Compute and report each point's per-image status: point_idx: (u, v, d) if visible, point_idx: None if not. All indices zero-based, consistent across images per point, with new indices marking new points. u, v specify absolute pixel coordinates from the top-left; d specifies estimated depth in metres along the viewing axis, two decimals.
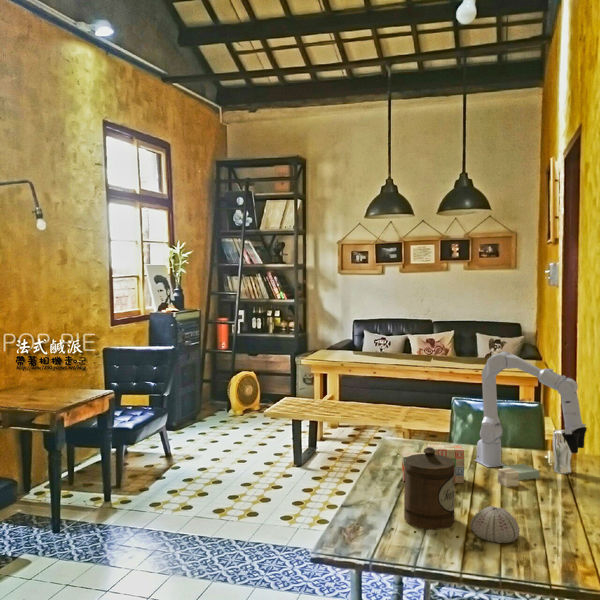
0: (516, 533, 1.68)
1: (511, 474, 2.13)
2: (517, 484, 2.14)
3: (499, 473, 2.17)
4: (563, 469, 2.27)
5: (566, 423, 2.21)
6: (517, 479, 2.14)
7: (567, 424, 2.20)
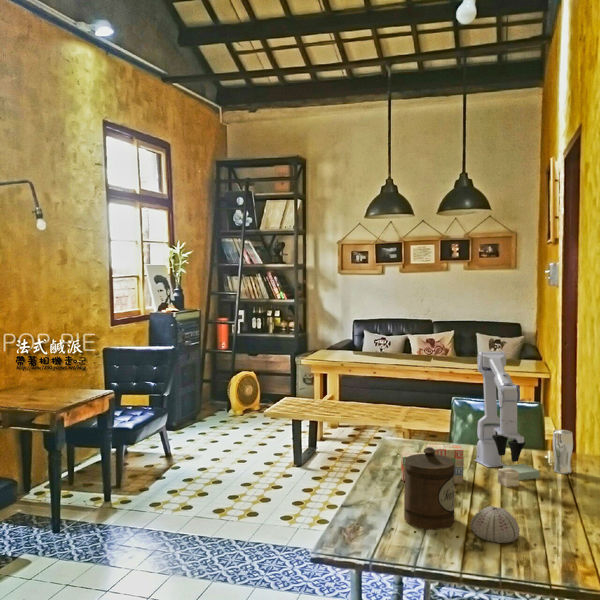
0: (516, 533, 1.68)
1: (511, 474, 2.13)
2: (517, 484, 2.14)
3: (499, 473, 2.17)
4: (563, 469, 2.27)
5: None
6: (517, 479, 2.14)
7: None
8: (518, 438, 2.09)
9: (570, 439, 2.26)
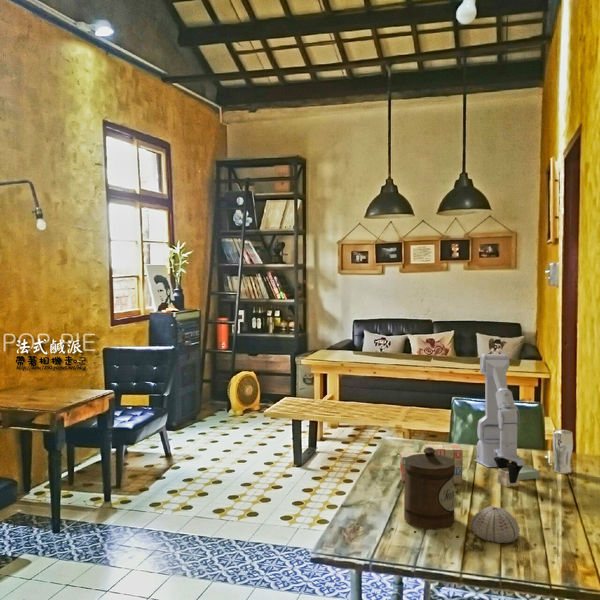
0: (516, 533, 1.68)
1: None
2: (517, 484, 2.14)
3: (499, 473, 2.17)
4: (563, 469, 2.27)
5: None
6: (517, 479, 2.14)
7: None
8: (518, 461, 2.09)
9: (570, 439, 2.26)
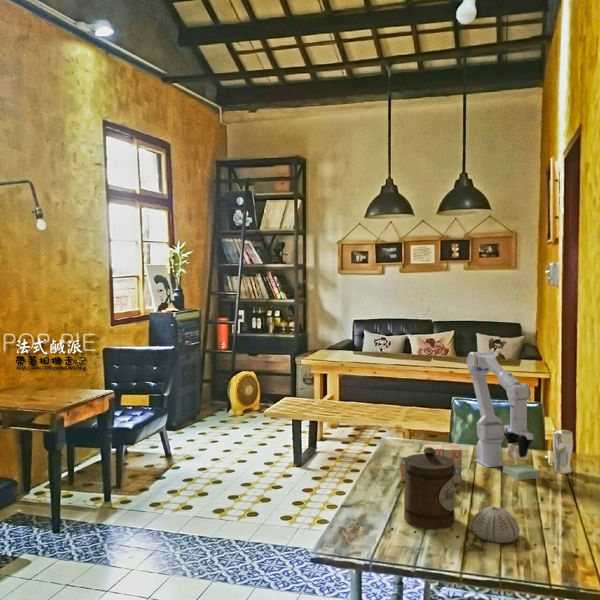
0: (516, 533, 1.68)
1: None
2: (526, 458, 2.22)
3: (509, 447, 2.24)
4: (563, 469, 2.27)
5: None
6: None
7: None
8: (528, 435, 2.16)
9: (570, 439, 2.26)
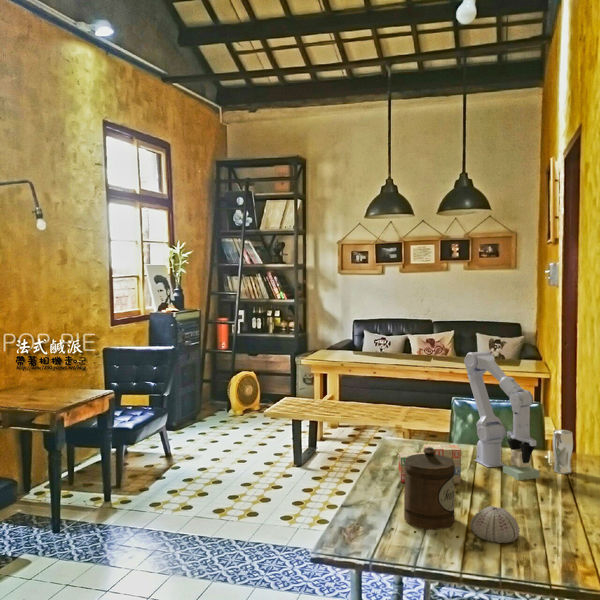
0: (516, 533, 1.68)
1: None
2: (529, 464, 2.24)
3: (512, 454, 2.26)
4: (563, 469, 2.27)
5: None
6: None
7: None
8: (531, 441, 2.18)
9: (570, 439, 2.26)
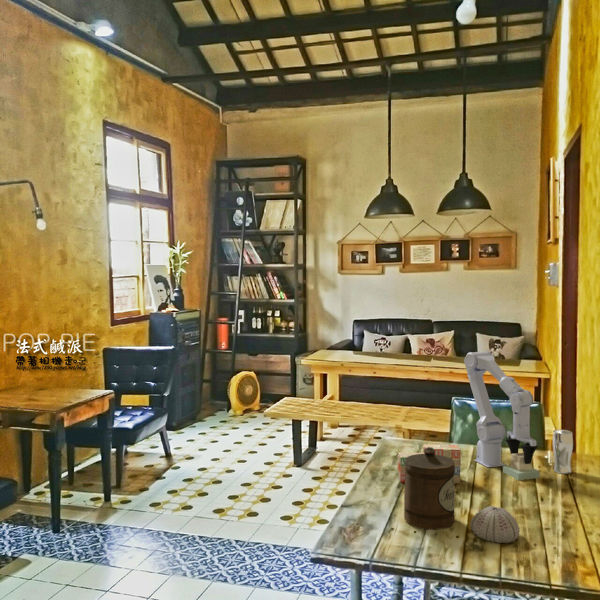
0: (516, 533, 1.68)
1: None
2: (530, 468, 2.24)
3: (512, 457, 2.26)
4: (563, 469, 2.27)
5: None
6: None
7: None
8: (531, 441, 2.18)
9: (570, 439, 2.26)
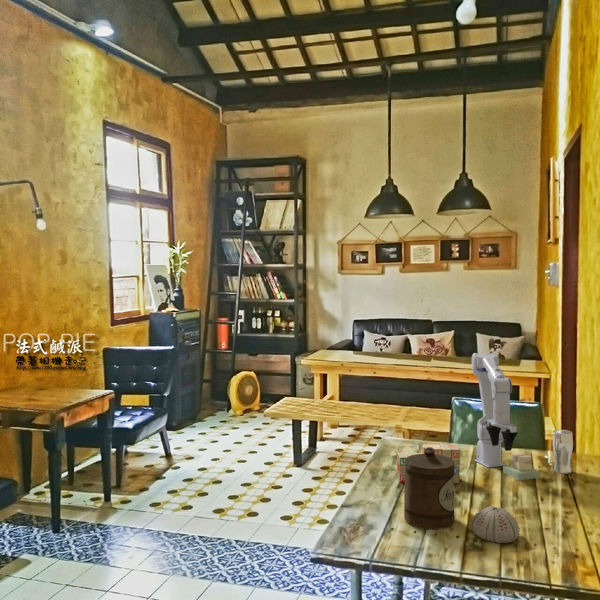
0: (516, 533, 1.68)
1: (524, 459, 2.23)
2: (530, 468, 2.24)
3: (512, 458, 2.27)
4: (563, 469, 2.27)
5: None
6: (530, 463, 2.24)
7: None
8: (511, 428, 2.17)
9: (570, 439, 2.26)
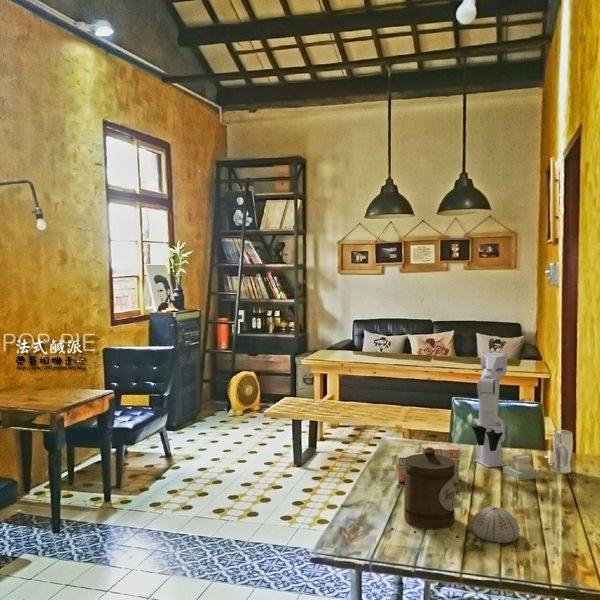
0: (516, 533, 1.68)
1: (523, 459, 2.23)
2: (529, 468, 2.24)
3: (511, 458, 2.26)
4: (563, 469, 2.27)
5: None
6: (529, 463, 2.23)
7: None
8: (495, 428, 2.18)
9: (570, 439, 2.26)
